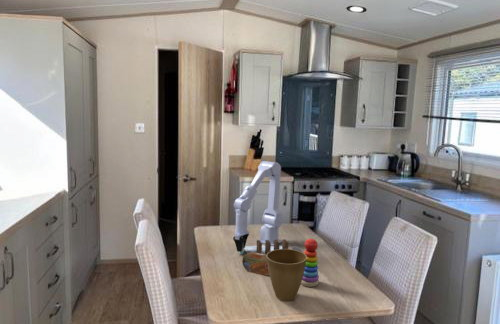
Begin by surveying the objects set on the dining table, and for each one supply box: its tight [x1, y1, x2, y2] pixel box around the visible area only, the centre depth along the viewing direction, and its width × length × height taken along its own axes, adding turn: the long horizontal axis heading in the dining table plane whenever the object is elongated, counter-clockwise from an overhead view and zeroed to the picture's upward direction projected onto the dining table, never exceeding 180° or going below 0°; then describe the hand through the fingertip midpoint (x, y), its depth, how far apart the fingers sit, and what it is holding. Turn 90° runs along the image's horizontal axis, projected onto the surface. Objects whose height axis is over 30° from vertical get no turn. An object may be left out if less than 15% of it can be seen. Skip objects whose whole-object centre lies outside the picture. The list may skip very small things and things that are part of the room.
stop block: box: [291, 245, 303, 253], centre depth 185 cm, size 3×7×3 cm, turn 10°
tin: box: [241, 251, 270, 276], centre depth 162 cm, size 15×3×8 cm, turn 62°
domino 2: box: [255, 239, 263, 254], centre depth 181 cm, size 2×5×7 cm, turn 10°
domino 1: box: [238, 242, 244, 255], centre depth 185 cm, size 2×5×7 cm, turn 10°
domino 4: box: [273, 239, 281, 250], centre depth 183 cm, size 2×5×7 cm, turn 10°
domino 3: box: [264, 240, 272, 255], centre depth 182 cm, size 2×5×7 cm, turn 10°
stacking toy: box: [301, 238, 320, 288], centre depth 152 cm, size 8×8×19 cm
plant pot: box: [266, 248, 307, 302], centre depth 141 cm, size 15×15×16 cm
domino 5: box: [281, 239, 289, 249], centre depth 184 cm, size 2×5×7 cm, turn 10°
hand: (241, 249), depth 185 cm, fingers closed on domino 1, 5 cm apart
